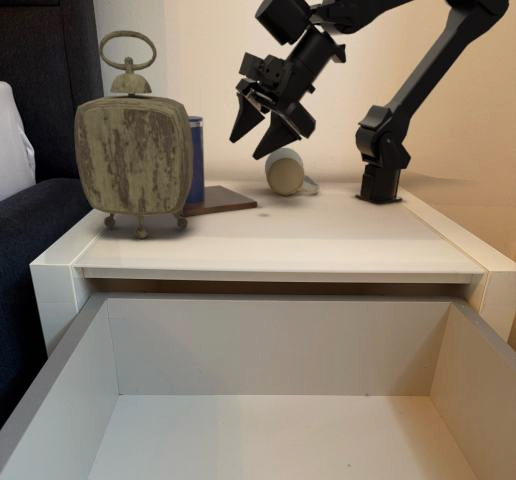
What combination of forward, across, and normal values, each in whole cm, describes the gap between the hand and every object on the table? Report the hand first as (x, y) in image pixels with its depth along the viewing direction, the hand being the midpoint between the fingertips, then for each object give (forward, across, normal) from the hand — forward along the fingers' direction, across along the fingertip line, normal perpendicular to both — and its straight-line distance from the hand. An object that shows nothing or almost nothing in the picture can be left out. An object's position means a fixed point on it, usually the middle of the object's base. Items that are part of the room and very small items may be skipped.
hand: (242, 149), depth 83 cm
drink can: (+12, -2, -1) cm, 12 cm away
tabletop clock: (+19, +11, -11) cm, 24 cm away
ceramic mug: (0, -5, +17) cm, 18 cm away
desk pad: (+11, -3, +2) cm, 12 cm away
